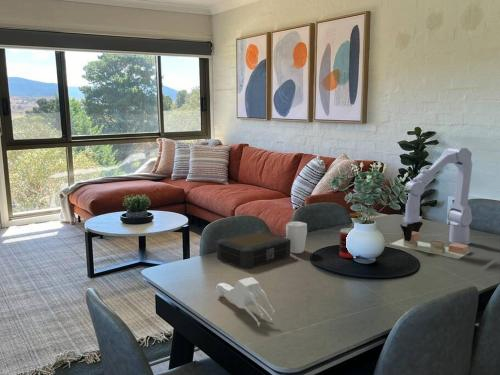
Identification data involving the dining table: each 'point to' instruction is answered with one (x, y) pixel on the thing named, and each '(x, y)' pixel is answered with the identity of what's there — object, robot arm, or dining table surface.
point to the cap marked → (413, 236)
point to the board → (426, 248)
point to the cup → (296, 236)
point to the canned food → (344, 243)
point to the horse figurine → (245, 295)
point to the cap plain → (458, 248)
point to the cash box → (253, 249)
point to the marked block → (410, 243)
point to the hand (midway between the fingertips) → (410, 239)
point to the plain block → (437, 246)
